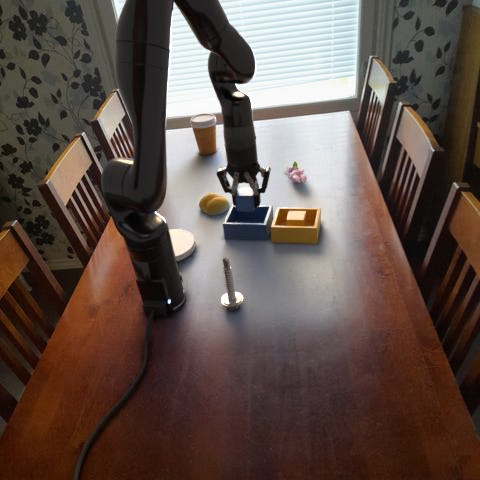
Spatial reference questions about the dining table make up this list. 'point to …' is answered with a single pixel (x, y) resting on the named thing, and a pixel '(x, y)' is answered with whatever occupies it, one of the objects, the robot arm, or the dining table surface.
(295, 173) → the pink flower bud
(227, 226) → the blue bin
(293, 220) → the ochre block
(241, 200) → the blue block
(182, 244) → the plastic lid
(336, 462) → the dining table surface
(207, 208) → the bread roll
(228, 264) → the screw
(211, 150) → the disposable coffee cup
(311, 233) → the ochre bin
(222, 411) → the dining table surface
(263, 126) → the dining table surface
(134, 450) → the dining table surface
